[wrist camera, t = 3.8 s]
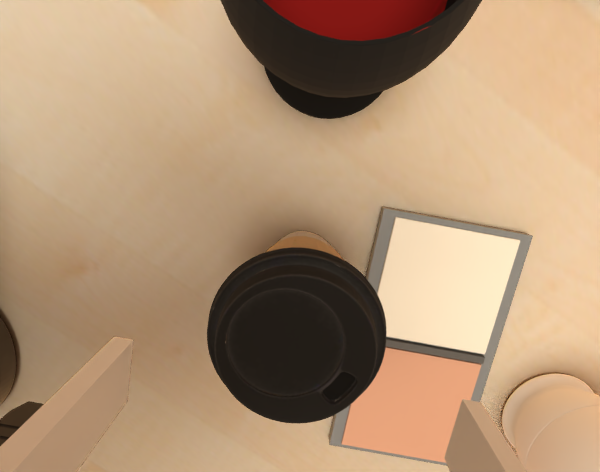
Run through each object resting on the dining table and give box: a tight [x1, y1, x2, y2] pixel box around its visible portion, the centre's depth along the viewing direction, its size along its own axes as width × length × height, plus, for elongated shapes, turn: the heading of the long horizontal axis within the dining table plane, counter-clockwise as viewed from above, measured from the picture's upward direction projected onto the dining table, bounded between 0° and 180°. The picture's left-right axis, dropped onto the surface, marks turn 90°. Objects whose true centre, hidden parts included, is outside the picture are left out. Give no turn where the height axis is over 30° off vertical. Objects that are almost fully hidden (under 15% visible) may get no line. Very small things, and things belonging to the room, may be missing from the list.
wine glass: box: [221, 0, 482, 119], centre depth 21 cm, size 10×10×20 cm
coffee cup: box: [207, 231, 386, 423], centre depth 27 cm, size 9×9×15 cm
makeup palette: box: [329, 207, 533, 466], centre depth 35 cm, size 12×22×2 cm, turn 170°
